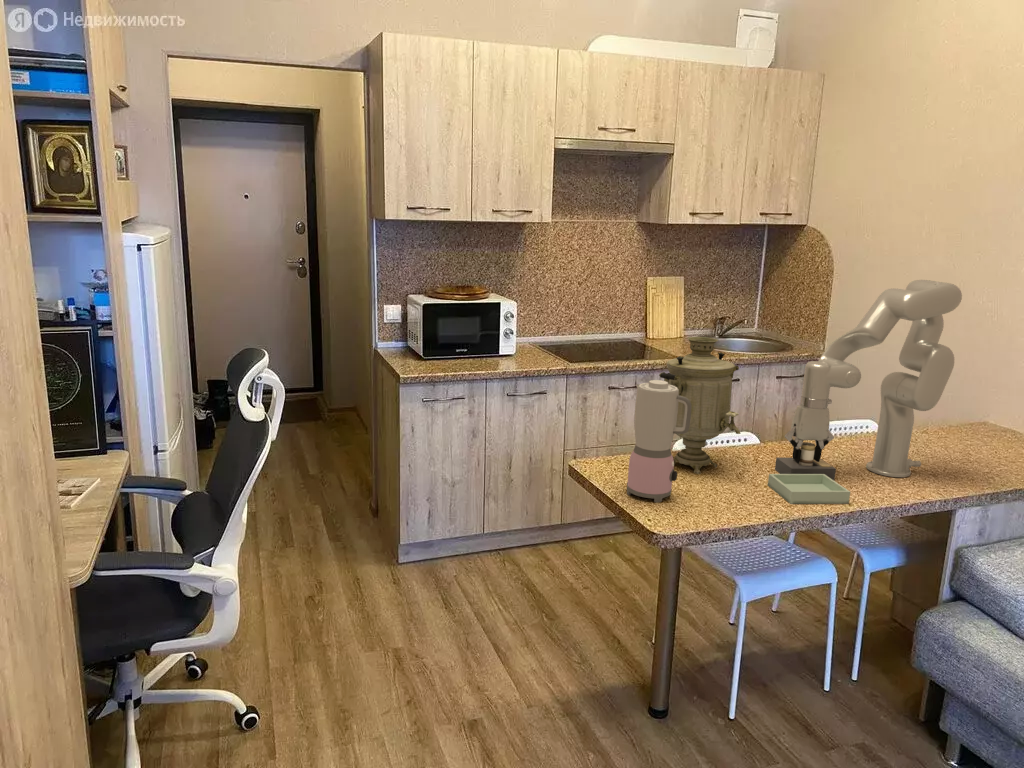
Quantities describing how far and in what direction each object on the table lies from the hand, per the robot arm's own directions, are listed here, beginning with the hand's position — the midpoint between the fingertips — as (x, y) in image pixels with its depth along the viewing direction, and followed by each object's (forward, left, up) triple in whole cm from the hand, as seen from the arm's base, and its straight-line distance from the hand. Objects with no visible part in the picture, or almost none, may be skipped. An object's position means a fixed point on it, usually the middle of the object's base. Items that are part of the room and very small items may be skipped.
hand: (806, 459), depth 223 cm
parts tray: (+7, +15, -5) cm, 18 cm away
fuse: (0, 0, -5) cm, 5 cm away
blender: (+52, +16, -5) cm, 55 cm away
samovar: (+32, -6, -5) cm, 33 cm away
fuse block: (0, 0, -5) cm, 5 cm away
